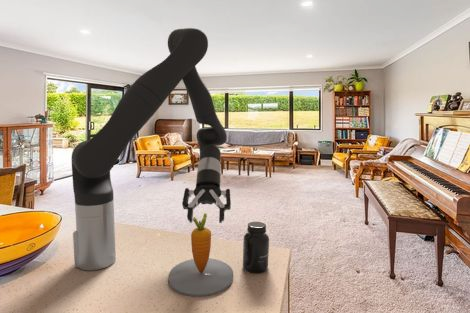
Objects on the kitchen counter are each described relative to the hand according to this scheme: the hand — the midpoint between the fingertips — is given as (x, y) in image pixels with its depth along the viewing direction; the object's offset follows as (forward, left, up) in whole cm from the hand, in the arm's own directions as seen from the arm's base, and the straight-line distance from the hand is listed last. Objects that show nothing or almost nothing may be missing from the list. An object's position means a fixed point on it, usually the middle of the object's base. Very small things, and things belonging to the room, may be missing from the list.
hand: (205, 221), depth 82 cm
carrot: (0, -11, -9) cm, 15 cm away
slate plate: (0, -12, -10) cm, 15 cm away
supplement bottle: (+14, -7, -10) cm, 19 cm away
